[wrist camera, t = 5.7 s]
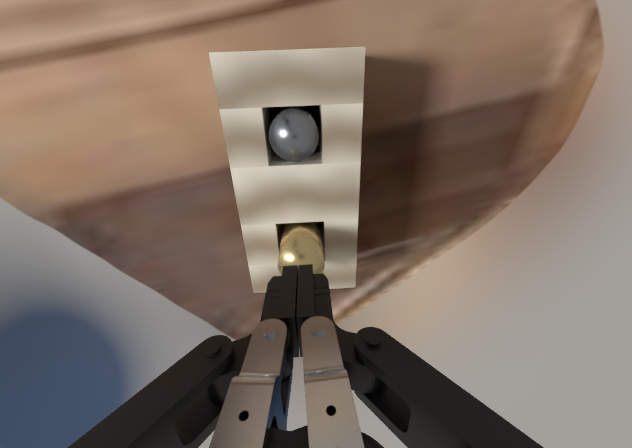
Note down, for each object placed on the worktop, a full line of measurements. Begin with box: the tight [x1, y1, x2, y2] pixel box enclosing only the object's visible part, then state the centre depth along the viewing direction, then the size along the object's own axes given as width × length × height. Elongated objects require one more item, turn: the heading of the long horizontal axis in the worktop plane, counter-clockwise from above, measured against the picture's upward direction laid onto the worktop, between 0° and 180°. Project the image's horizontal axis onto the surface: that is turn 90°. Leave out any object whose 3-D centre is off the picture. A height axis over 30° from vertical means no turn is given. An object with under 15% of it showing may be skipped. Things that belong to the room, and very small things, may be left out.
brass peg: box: [278, 222, 325, 276], centre depth 29 cm, size 4×4×7 cm
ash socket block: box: [209, 47, 365, 293], centre depth 30 cm, size 24×12×8 cm, turn 2°
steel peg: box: [269, 106, 319, 162], centre depth 27 cm, size 4×4×7 cm
